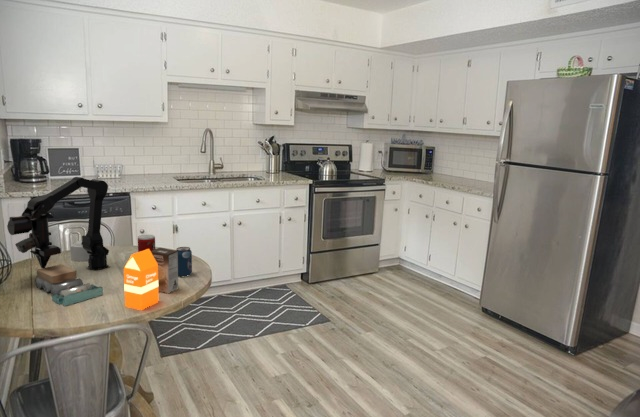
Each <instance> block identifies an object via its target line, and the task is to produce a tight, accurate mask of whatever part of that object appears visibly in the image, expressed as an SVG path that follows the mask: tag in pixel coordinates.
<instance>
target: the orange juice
mask: <svg viewBox="0 0 640 417" xmlns="http://www.w3.org/2000/svg"><path fill="white" fill-rule="evenodd" d="M123 282H124V283H123V285H124V286H123V288H124V289H123V290H124V306H125V307H126V308H129V309H133V310H138V311H143V310H145V308H146V309H148V308H150V307H152V306H154V305H155V304H158V303H159V302H160V300H159V299H160V298H159V297H160V295H159V293H160V292H159V291H158V287H159V285H158V264H157V262H156V260H155V259H154V257H153V255H152V253H151V251H150V249H146V250H143V251H140V252H138V251H137V252H134V253H132V254H131V255H130V257H129V259H128V260H127V262H126V264H125V266H124V267H123ZM158 301H159V302H158ZM149 306H150V307H149ZM147 307H148V308H147Z"/></svg>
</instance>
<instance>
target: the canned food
mask: <svg viewBox="0 0 640 417" xmlns="http://www.w3.org/2000/svg"><path fill="white" fill-rule="evenodd" d="M146 249H150V251H152V250H155V249H156V236H155V235H154V234H141V235H139V236H137V252H140V251H143V250H146Z"/></svg>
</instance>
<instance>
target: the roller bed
mask: <svg viewBox="0 0 640 417" xmlns="http://www.w3.org/2000/svg"><path fill="white" fill-rule="evenodd" d="M80 285H84V282H83V280H82V279H81V278H80V277H79V278H75V279H71V280H67V281H63V282H59V283H55V284H51V283H49V282H47V281H44V280H42V279H40V278H38V277H36V278H35V286H36V288H37V290H38V289H39V290H40V289H43V290H44V292H45V293H51V301H52V302H54V303H56V304H58V305H62V306H64V307H67V306H70V305H74V304H77V303H80V302H84V301H86V300H90V299H93V298H97V297H100V296H103V295H104V288H103V286H96V285H94V284H90V285H91V286H92V289H90V290H86V291H83V292H79V293H76V294H72V295H69V296H65V297H61V296H60V291H62V290H66V289H69V288H73V287H77V286H80Z"/></svg>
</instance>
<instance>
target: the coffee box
mask: <svg viewBox="0 0 640 417" xmlns="http://www.w3.org/2000/svg"><path fill="white" fill-rule="evenodd" d="M151 253H152V255H153V257H154V259H155V260H156V262H157V264H158V285H159V287H158V291H160V292H159V293H163V292H165V293H164V294H168V293H169V294H170V292H171V291H173V290H175V289H176V290H178V289H179V276H178V251H176V249H170V248H166V247H165V248H164V247H158V248H155V250H152V251H151ZM177 288H178V289H177ZM176 290H175V291H176ZM173 292H174V291H173ZM171 293H172V292H171Z"/></svg>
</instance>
